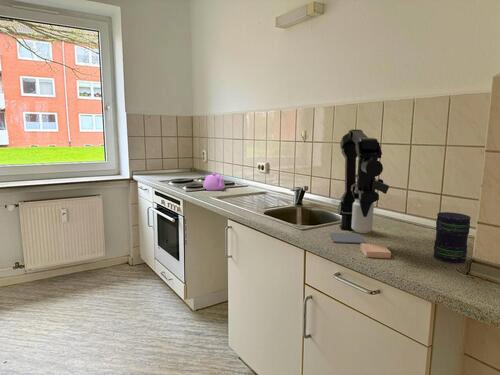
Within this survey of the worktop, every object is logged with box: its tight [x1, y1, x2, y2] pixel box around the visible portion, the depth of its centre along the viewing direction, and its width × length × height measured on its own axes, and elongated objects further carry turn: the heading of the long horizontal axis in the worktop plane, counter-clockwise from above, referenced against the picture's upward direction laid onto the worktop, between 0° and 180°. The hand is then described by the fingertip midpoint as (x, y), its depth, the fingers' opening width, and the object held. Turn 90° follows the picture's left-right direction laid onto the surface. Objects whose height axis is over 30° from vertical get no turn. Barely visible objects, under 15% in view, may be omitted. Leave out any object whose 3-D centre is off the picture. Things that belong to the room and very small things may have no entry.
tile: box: [360, 243, 392, 259], centre depth 124 cm, size 2×8×9 cm
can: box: [351, 199, 375, 234], centre depth 132 cm, size 8×8×12 cm
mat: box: [329, 232, 366, 245], centre depth 140 cm, size 12×12×1 cm
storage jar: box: [432, 211, 471, 265], centre depth 118 cm, size 10×10×15 cm
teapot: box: [202, 172, 226, 192], centre depth 255 cm, size 22×16×12 cm
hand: (362, 214), depth 132 cm, fingers closed on can, 7 cm apart
